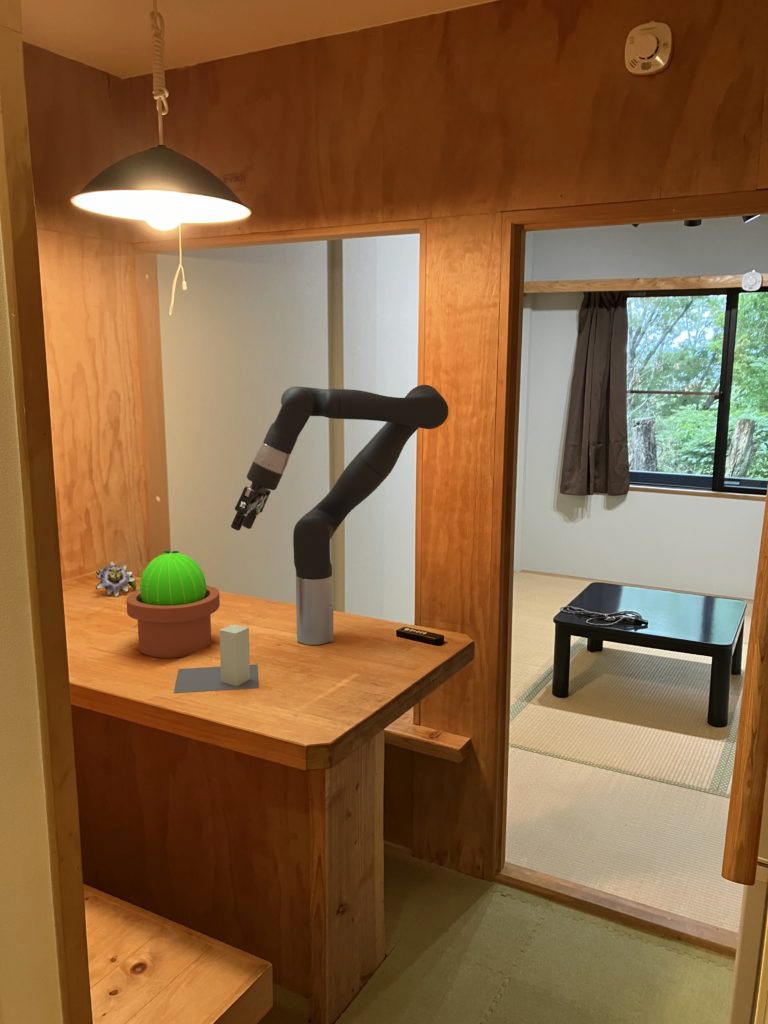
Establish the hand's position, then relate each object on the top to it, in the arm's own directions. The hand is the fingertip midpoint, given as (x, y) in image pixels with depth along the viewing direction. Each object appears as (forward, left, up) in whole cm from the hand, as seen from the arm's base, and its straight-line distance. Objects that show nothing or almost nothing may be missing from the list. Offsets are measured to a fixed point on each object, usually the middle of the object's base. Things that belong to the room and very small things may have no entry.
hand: (240, 528), depth 188 cm
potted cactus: (+17, -10, -32) cm, 38 cm away
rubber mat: (+6, +15, -32) cm, 36 cm away
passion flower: (+39, -62, -32) cm, 80 cm away
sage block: (+2, +17, -31) cm, 36 cm away
